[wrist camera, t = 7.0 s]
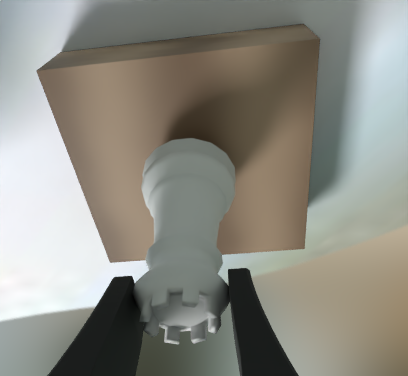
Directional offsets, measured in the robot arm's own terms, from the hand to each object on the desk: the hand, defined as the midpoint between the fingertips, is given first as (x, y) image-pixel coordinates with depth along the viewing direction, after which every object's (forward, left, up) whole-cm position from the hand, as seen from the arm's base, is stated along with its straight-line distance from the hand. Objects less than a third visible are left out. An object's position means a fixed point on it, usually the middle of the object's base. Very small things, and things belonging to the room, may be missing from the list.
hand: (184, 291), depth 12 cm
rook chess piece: (0, +1, -7) cm, 7 cm away
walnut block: (0, 0, -10) cm, 10 cm away
